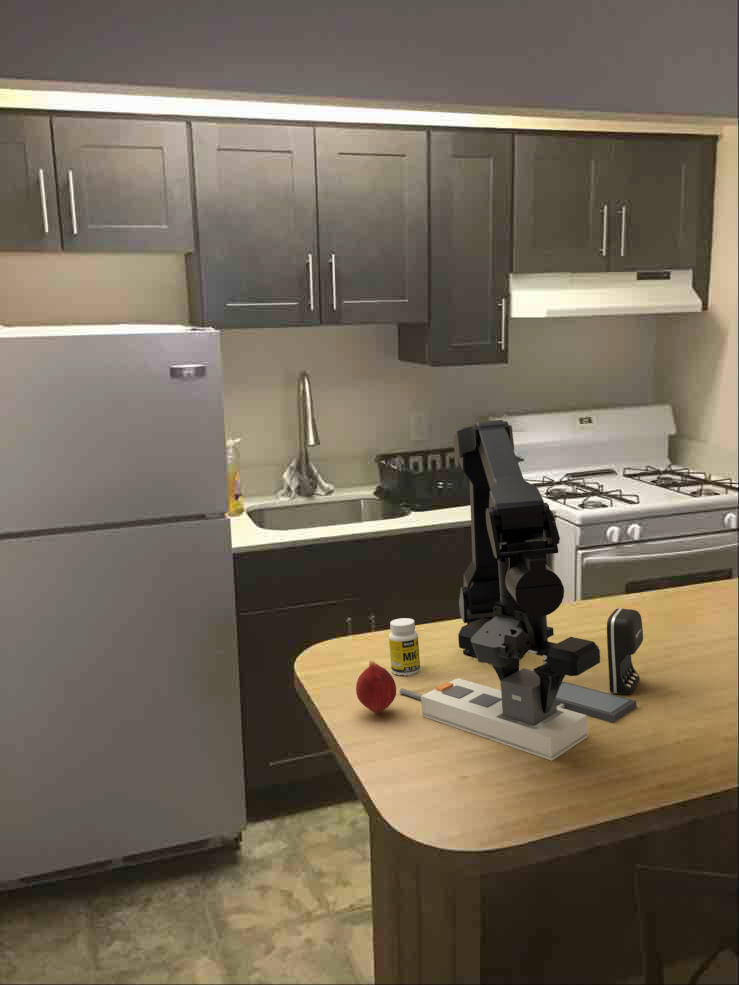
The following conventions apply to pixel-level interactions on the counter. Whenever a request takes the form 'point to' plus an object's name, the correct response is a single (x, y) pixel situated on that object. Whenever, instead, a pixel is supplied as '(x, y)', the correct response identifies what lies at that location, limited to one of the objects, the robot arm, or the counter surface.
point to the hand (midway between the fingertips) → (529, 707)
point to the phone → (593, 702)
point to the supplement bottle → (404, 647)
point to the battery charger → (623, 649)
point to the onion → (376, 688)
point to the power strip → (500, 719)
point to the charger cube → (524, 698)
